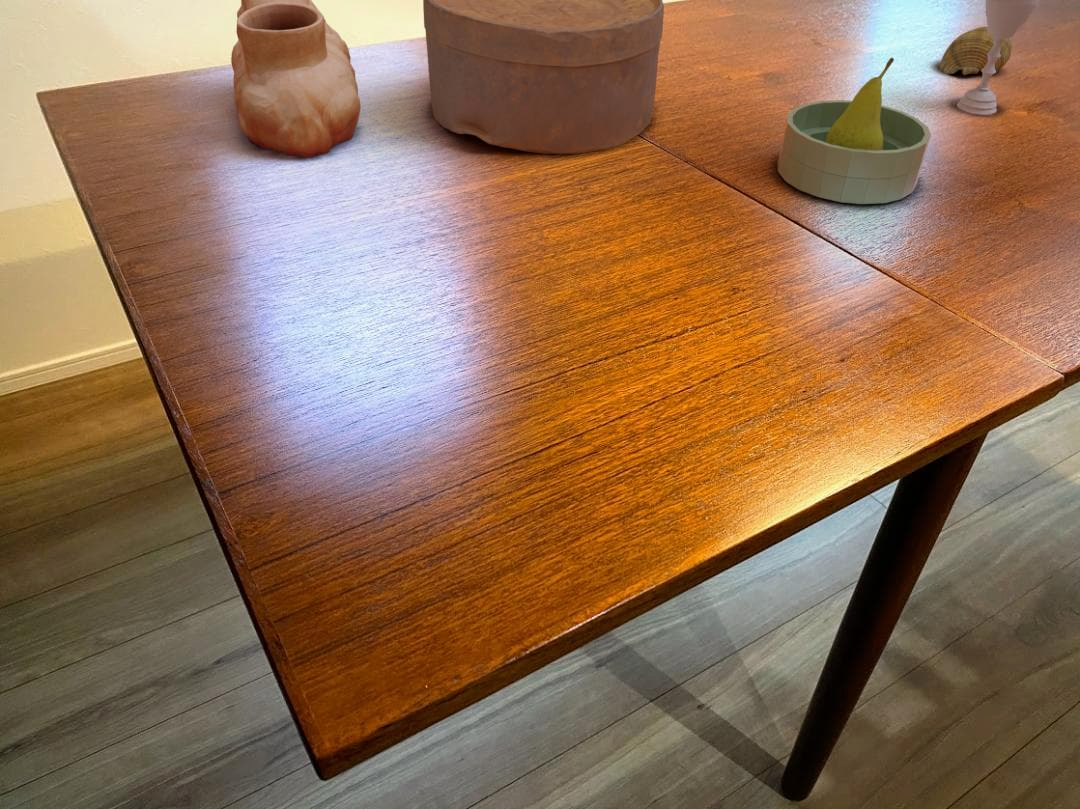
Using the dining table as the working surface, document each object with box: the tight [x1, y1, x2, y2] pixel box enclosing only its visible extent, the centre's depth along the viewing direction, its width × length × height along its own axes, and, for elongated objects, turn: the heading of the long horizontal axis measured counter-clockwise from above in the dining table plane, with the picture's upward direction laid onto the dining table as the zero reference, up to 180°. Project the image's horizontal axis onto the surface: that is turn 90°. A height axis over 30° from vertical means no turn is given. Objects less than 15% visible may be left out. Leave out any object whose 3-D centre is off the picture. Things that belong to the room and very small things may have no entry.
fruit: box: [825, 57, 895, 151], centre depth 90 cm, size 6×6×12 cm
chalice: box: [956, 0, 1041, 116], centre depth 105 cm, size 7×7×18 cm
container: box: [422, 0, 665, 155], centre depth 103 cm, size 28×28×15 cm
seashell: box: [938, 26, 1013, 76], centre depth 121 cm, size 10×7×8 cm
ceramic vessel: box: [230, 0, 361, 158], centre depth 101 cm, size 14×26×15 cm, turn 18°
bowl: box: [777, 99, 932, 205], centre depth 93 cm, size 14×14×6 cm
